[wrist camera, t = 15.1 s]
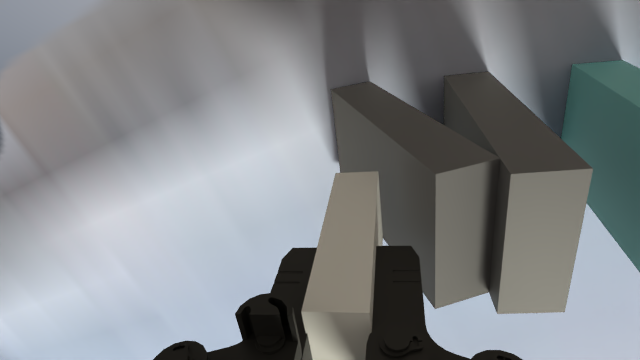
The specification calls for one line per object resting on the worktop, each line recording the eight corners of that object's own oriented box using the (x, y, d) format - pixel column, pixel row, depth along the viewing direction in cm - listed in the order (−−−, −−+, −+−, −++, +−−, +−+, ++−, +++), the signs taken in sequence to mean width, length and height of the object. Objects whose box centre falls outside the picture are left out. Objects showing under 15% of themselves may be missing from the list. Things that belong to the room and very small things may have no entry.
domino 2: (442, 170, 22) (497, 313, 13) (444, 76, 20) (510, 173, 11) (482, 167, 22) (564, 311, 13) (488, 71, 19) (593, 168, 11)
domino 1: (341, 180, 22) (435, 309, 14) (330, 89, 20) (435, 174, 11) (376, 172, 23) (488, 292, 14) (369, 81, 21) (500, 157, 12)
